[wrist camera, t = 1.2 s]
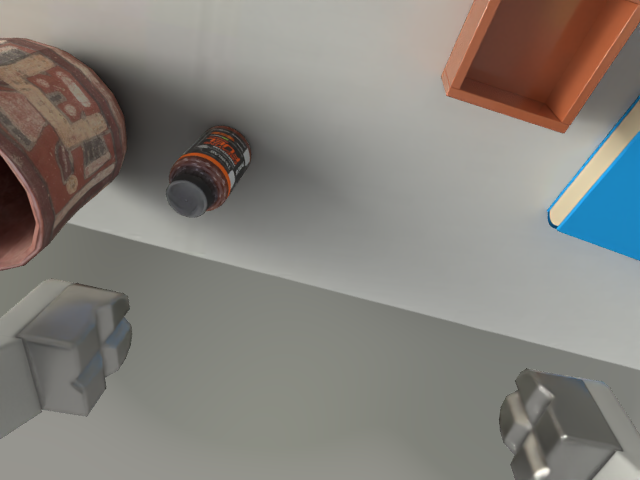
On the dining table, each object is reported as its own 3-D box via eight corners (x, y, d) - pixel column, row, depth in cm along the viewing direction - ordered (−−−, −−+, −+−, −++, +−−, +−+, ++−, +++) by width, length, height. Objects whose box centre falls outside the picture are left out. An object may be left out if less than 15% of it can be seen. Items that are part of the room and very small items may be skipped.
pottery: (132, 202, 54) (37, 301, 40) (-6, 135, 51) (-163, 217, 37) (165, 79, 43) (52, 153, 29) (-6, -14, 40) (-225, 18, 26)
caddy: (545, 111, 40) (564, 134, 35) (440, 77, 39) (446, 96, 35) (623, -14, 33) (658, -5, 29) (498, -57, 33) (514, -54, 28)
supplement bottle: (259, 138, 46) (225, 189, 37) (244, 180, 49) (210, 236, 40) (208, 114, 45) (161, 160, 36) (196, 159, 49) (150, 211, 40)
